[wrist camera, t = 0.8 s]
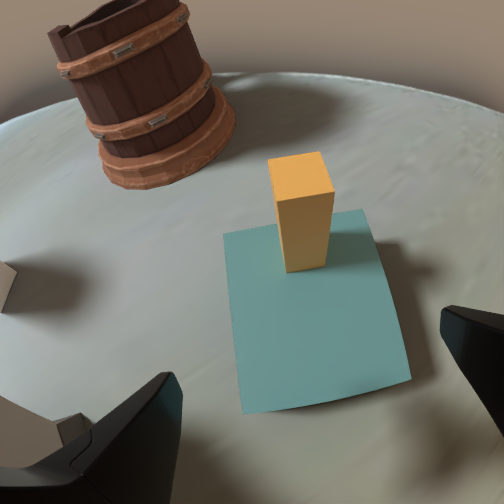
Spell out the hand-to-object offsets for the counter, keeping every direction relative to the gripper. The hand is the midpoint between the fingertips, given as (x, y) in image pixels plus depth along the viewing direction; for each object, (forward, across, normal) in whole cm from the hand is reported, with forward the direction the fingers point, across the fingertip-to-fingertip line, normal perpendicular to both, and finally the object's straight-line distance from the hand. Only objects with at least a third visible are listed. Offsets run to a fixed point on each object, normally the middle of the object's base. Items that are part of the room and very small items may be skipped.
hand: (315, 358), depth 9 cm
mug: (+32, +10, -15) cm, 37 cm away
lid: (+10, -1, +4) cm, 11 cm away
